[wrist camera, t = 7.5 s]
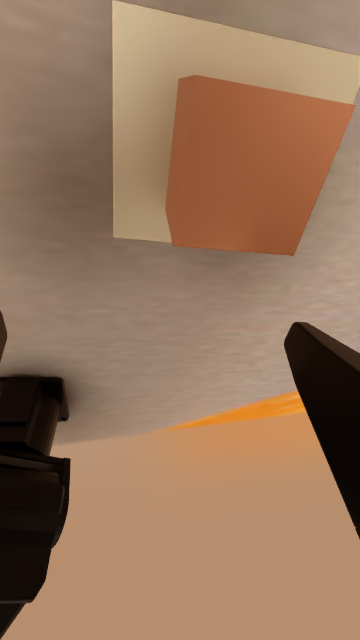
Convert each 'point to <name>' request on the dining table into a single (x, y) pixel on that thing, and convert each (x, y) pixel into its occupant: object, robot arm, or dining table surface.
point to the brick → (248, 164)
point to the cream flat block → (161, 94)
